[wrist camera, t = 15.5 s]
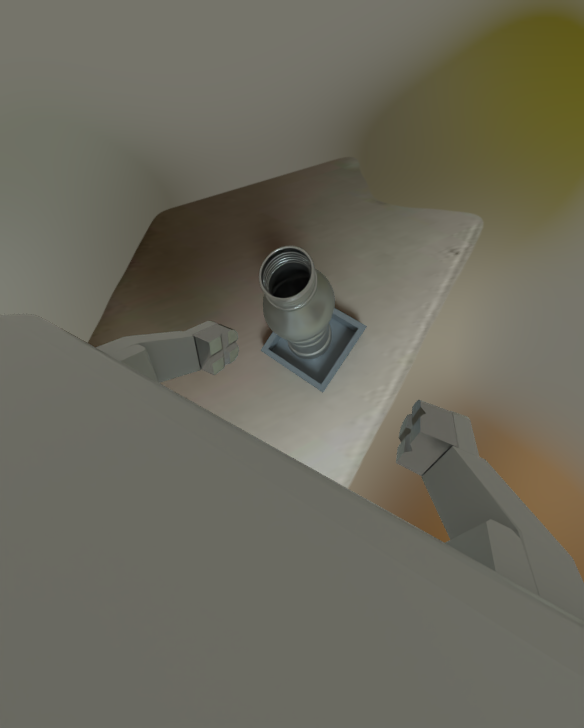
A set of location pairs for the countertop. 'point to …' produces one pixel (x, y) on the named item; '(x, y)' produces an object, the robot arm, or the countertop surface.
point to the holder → (326, 364)
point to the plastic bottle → (297, 301)
